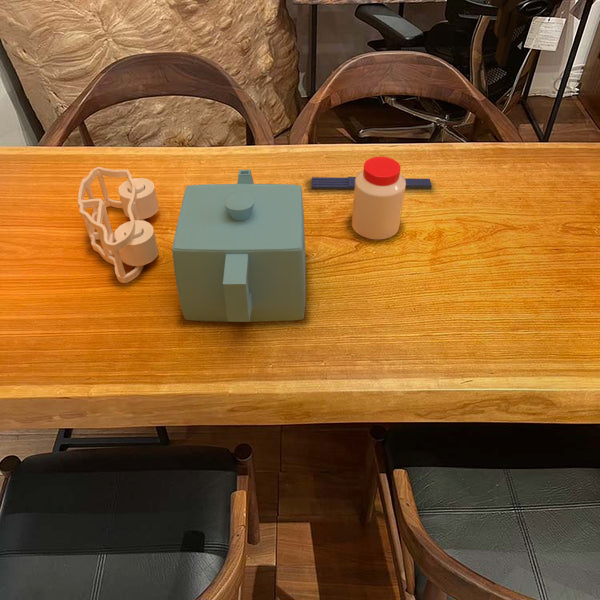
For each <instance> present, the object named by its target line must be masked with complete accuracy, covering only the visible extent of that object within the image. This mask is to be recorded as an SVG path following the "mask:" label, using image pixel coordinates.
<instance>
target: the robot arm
mask: <svg viewBox="0 0 600 600" xmlns="http://www.w3.org/2000/svg"><path fill="white" fill-rule="evenodd" d="M487 1H488V3H489V4H490V6H491V7H493V8H495V7H496V8H498V9H497V14H496V19H495V24H494V28H493V31H494V35H495V36H496V38H497V39H498V42H497V46H496V51H495V55H494V58H495V60H496V62H497V64H498V67H506V65H507V61H508V59H509V53H510V50H511V46H512V42H513V38H514V35H515V29H516V25H517V22H518V18H519V14H520V13H519V12H518V10H517V9H516V7H518V6H519V5H520V4H521V3H522V2H523V1H524V0H487ZM597 58H598V60H600V51H599V52H598V55H597Z"/></svg>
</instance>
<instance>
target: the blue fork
mask: <svg viewBox="0 0 600 600" xmlns="http://www.w3.org/2000/svg"><path fill="white" fill-rule="evenodd" d="M404 178H405V181H406V188H405V190H406V189H407V190H410V189H411V190H414V189H415V190H420V189H421V190H431V189H432V182H431V181H432V180H431V178H409V177H408V178H407V177H404ZM355 179H356V176H347V177H330V176H329V177H322V176H321V177H319V176H317V177H314V176H311V182H310V183H311V184H310V185H311V190H354V188H355Z"/></svg>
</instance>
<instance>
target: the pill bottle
mask: <svg viewBox="0 0 600 600" xmlns="http://www.w3.org/2000/svg"><path fill="white" fill-rule="evenodd" d="M401 167H402V166H401V164H400V162H398V161H397V160H395V159H393V158H392V157H387V156H374V157H370V158H368V159H367V160H365V162H364V163H363V169H362V170H361V171H359V172H358V173H357V174H356V176H355V177H356V179H355V188H354V189H353V201H352V214H351V227H352V229H353V231H354V232H355V233H356V234H358V235H359V236H361V237H363V238H365V239H368V240H376V241H378V240H380V241H381V240H385V239H386V240H387V239H390V238H391V237H393V236H395V235H396V234H397V233H398V231H399V230H400V225H401V219H402V212H403V205H404V200H405V193H406V189H405V188H406V181H405V178H406V177H404V176H403V174H402V173H401V170H402V168H401Z"/></svg>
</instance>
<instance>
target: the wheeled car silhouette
mask: <svg viewBox="0 0 600 600" xmlns="http://www.w3.org/2000/svg"><path fill="white" fill-rule="evenodd" d="M132 176H133V175H132V174H131V172H130V170H129V169H126V168H125V169H113V168H105V167H102V166H96V167H94V168H92V169H91V170H90V171H89V173H88V175H87V176H85V177H83V178H82V179H81V182H80V186H79V190H78V194H77V205H78V208H79V210H78V211H79V214H80V217H81V218H82V220H83V222H84V225H85V228H86V231H87V235H88V237H89V239H90V244H91V247H92V249H93V251H95V252H97V253H98V254H99V255H100V256H101V258H102V259H103V260H104V261H105V262H107V263H108V264H111V265H113V266H114V273H115V276H116V279H117V281H118V282H119V283H121V284H128V283H130V282H131V281H133V280H134V279H136V278H137V277H138V276H139V275H140V274H141V273H142V271H143V269H144V266H145V265H147V264H149V263H152V262H153V261H155V259H157V257H158V256H159V252H160V251H159V247H158V243H157V237H156V234H155V229H154V226H153V224H151V223H150V222H149V221H146V219H148V218H151V217H153V216H154V215H156V214H157V212H159V208H160V205H159V201H158V196H157V192H156V186H155V183H154V181H152V180H150V179H149V178H145V177H135V178H133V177H132ZM104 177H108V178H115V179H117V178H118V179H121V178H122V179H123V178H127V180H125V181H123V182H122V183H121V184H120V185H119V187H118V189H117V192H118V195H119V200H117V199H116V200H115V199H112V198H110V197H109V192H108V190H107V186H106V183H105V180H104V179H105V178H104ZM95 178H97V180H98V183H99V186H100V191H101V194H102V197H103V199H102V198H95V197H94V192H93V189H92V187H91V184H92V183H94V181H95ZM85 194H87V197H88V199H85ZM109 207H113V208H115V209H121V210H122V211H123V214H124V215H125V216H126V218H129V220H130V221H126V222H124V223H122V224H120V225H119V226H118V227H117V228H116V229H115V231H114V232H113V229H112V225H111V221H110V218H109V215H108V211H107V208H109ZM90 208H91V210H92V214H91V215H90V213H89V212H87V209H90ZM103 223H104V224H103ZM97 241H100V244H101V245H99V244H98V243H97ZM123 263H124V264H125V265H127V266H131V267H134V269H132V270H131V271H129V272H127V273H126V270H125V268H124V264H123Z"/></svg>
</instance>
